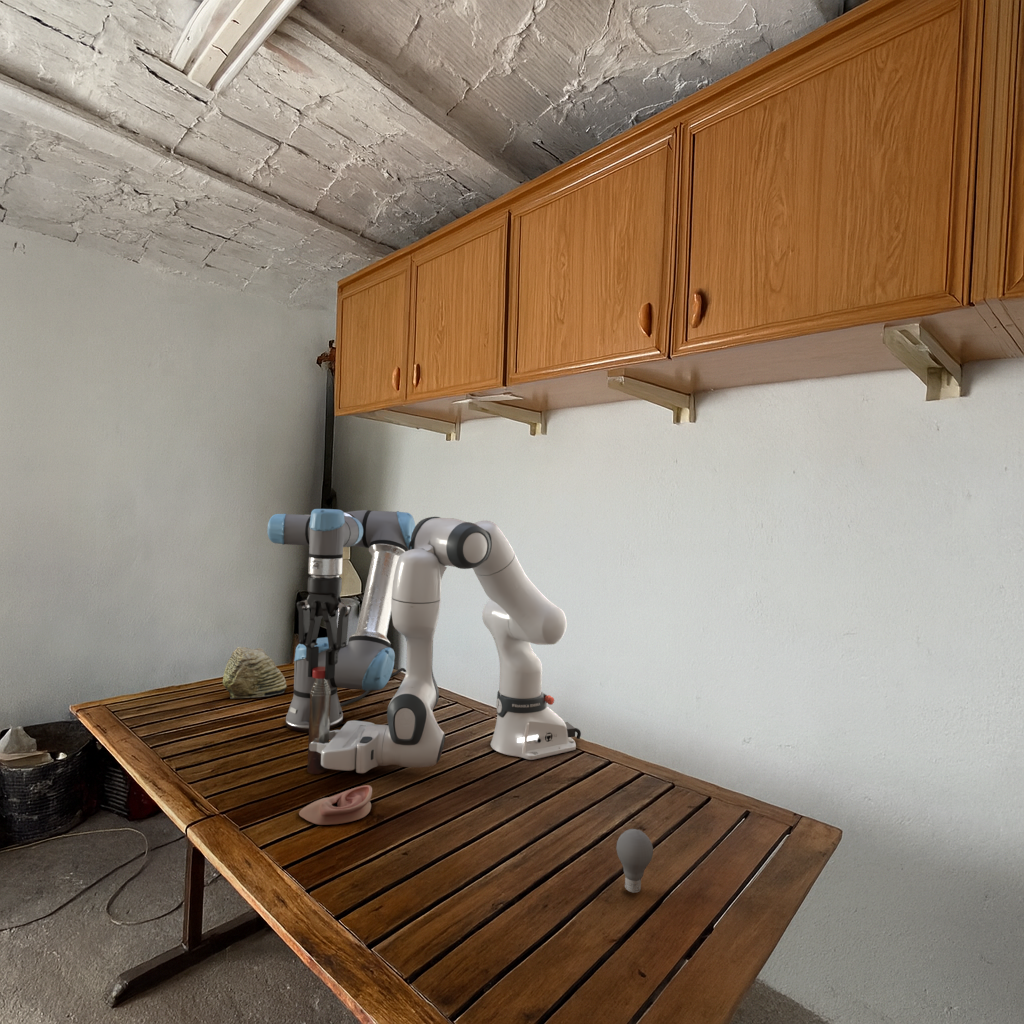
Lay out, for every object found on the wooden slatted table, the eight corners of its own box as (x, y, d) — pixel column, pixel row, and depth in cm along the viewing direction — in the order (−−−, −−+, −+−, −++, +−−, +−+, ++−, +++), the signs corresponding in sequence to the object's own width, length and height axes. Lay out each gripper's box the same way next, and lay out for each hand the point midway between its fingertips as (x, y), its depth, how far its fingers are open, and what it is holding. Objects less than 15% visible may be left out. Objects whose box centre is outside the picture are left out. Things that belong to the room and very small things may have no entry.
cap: (331, 678, 145) (331, 670, 145) (313, 679, 144) (313, 671, 144) (328, 673, 149) (328, 666, 149) (311, 674, 147) (311, 667, 147)
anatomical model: (291, 800, 123) (320, 775, 134) (290, 820, 123) (320, 794, 134) (354, 810, 120) (379, 784, 132) (353, 830, 121) (378, 803, 132)
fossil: (218, 695, 195) (220, 647, 195) (278, 685, 208) (279, 640, 207) (228, 703, 189) (230, 653, 188) (289, 692, 201) (290, 645, 201)
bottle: (332, 768, 148) (335, 671, 147) (318, 775, 144) (321, 675, 143) (317, 764, 150) (320, 668, 149) (303, 771, 146) (306, 672, 145)
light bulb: (610, 879, 108) (613, 822, 108) (644, 879, 109) (647, 822, 109) (619, 902, 102) (622, 840, 102) (655, 901, 103) (658, 840, 103)
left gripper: (283, 574, 145) (280, 676, 145) (347, 580, 140) (343, 686, 140) (304, 571, 152) (300, 668, 153) (365, 577, 147) (361, 677, 147)
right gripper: (385, 715, 156) (330, 712, 157) (362, 747, 136) (298, 744, 136) (384, 741, 156) (329, 737, 157) (361, 777, 136) (297, 773, 137)
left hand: (321, 676), depth 146 cm, fingers closed on cap, 4 cm apart
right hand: (314, 740), depth 147 cm, fingers closed on bottle, 4 cm apart
